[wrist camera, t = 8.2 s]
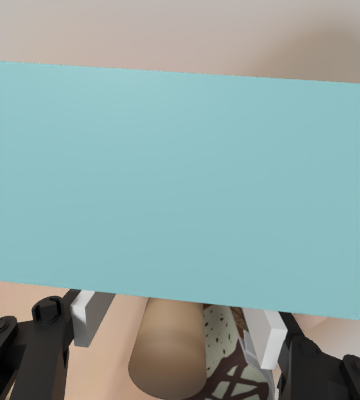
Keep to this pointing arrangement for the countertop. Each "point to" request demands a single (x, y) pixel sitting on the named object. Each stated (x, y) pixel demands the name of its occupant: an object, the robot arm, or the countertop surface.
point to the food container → (231, 359)
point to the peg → (170, 350)
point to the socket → (182, 186)
